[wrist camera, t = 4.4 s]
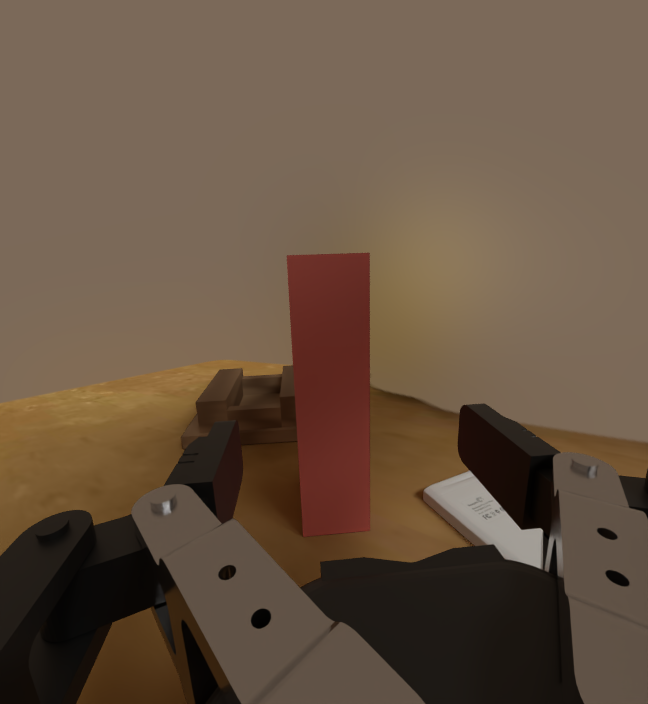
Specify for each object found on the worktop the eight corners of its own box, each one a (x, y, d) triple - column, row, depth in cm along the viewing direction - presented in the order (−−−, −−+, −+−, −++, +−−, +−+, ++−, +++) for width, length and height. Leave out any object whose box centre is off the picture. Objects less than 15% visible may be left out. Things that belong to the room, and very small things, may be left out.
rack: (318, 395, 42) (317, 363, 41) (327, 438, 31) (325, 396, 30) (211, 402, 41) (207, 369, 40) (182, 449, 30) (176, 405, 29)
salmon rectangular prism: (353, 472, 26) (349, 257, 22) (369, 530, 20) (369, 252, 16) (301, 476, 26) (288, 259, 22) (303, 536, 20) (286, 255, 16)
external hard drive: (658, 723, 12) (421, 507, 23) (753, 619, 15) (505, 473, 26) (668, 690, 12) (422, 486, 23) (763, 590, 15) (507, 454, 26)
